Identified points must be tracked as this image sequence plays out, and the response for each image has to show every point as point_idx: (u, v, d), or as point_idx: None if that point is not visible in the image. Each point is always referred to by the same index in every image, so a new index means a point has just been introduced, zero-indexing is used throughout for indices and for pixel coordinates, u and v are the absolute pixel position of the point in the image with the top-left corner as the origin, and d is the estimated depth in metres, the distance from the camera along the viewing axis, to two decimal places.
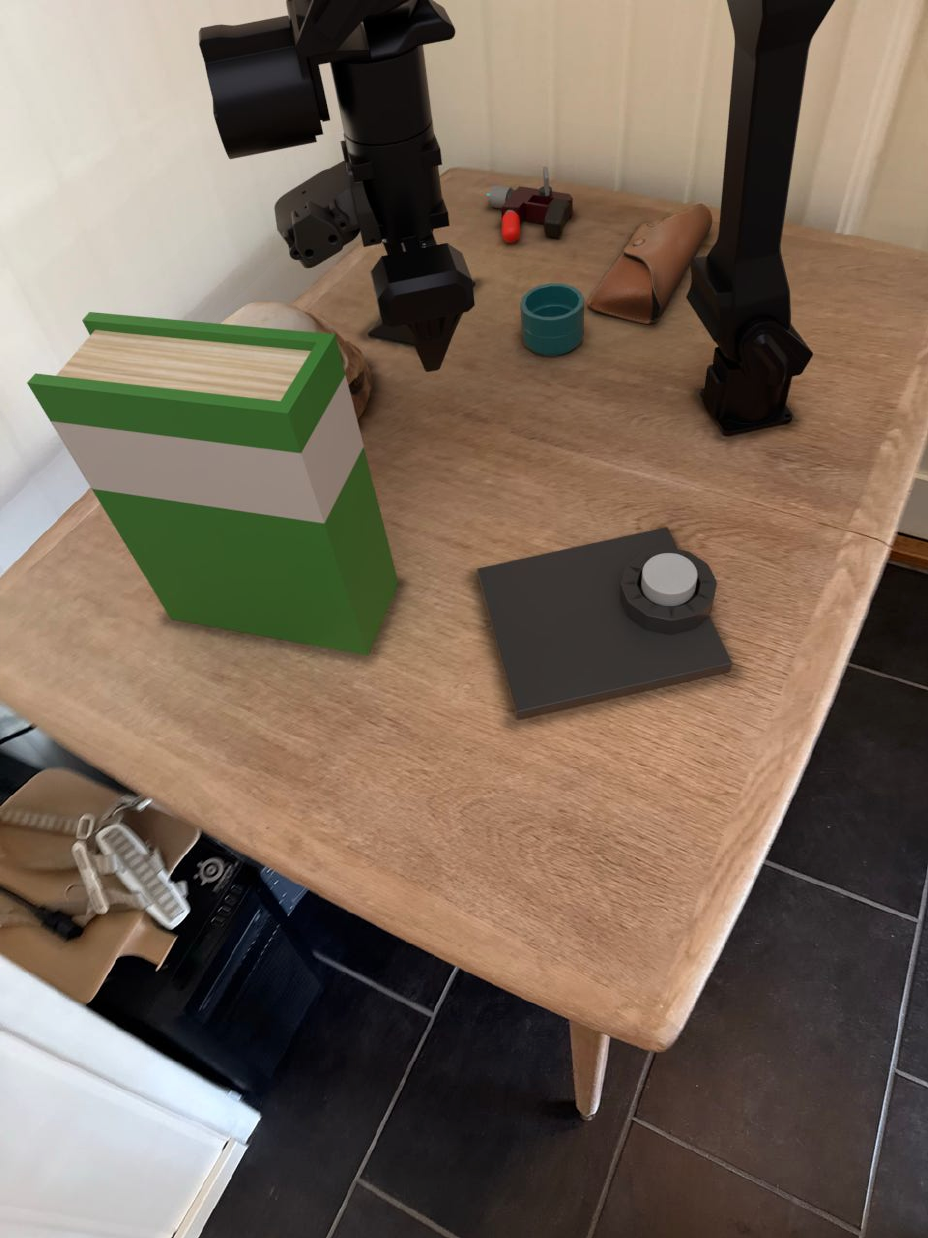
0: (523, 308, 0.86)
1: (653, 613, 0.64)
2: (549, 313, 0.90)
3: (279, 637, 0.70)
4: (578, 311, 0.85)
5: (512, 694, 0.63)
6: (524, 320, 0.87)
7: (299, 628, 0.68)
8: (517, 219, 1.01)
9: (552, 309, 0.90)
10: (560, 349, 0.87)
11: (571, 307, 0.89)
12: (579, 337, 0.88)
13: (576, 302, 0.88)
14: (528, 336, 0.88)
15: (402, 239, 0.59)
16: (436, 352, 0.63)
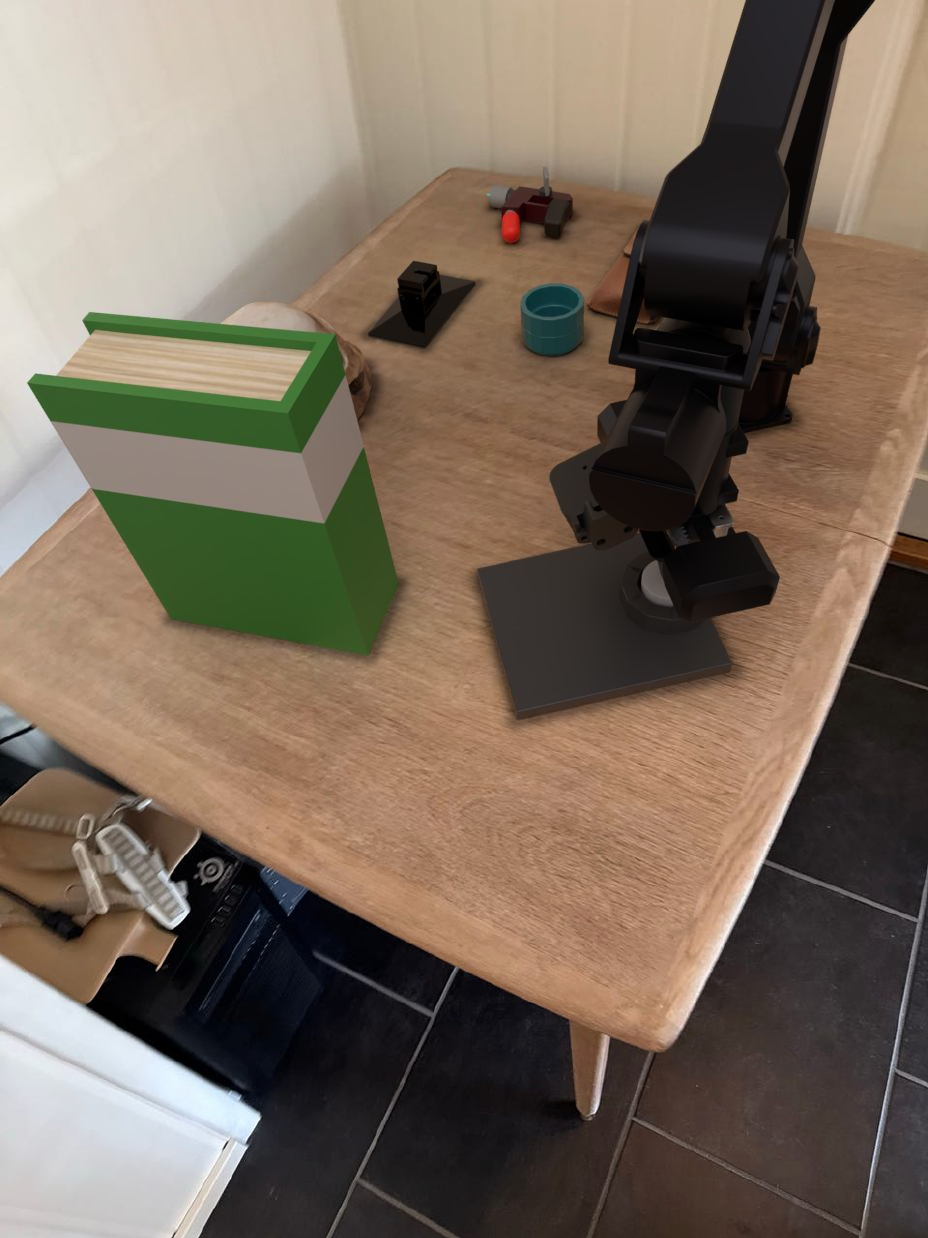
0: (523, 308, 0.86)
1: (653, 613, 0.64)
2: (549, 313, 0.90)
3: (279, 637, 0.70)
4: (578, 311, 0.85)
5: (512, 694, 0.63)
6: (524, 320, 0.87)
7: (299, 628, 0.68)
8: (517, 219, 1.01)
9: (552, 309, 0.90)
10: (560, 349, 0.87)
11: (571, 307, 0.89)
12: (579, 337, 0.88)
13: (576, 302, 0.88)
14: (528, 336, 0.88)
15: (689, 517, 0.56)
16: None
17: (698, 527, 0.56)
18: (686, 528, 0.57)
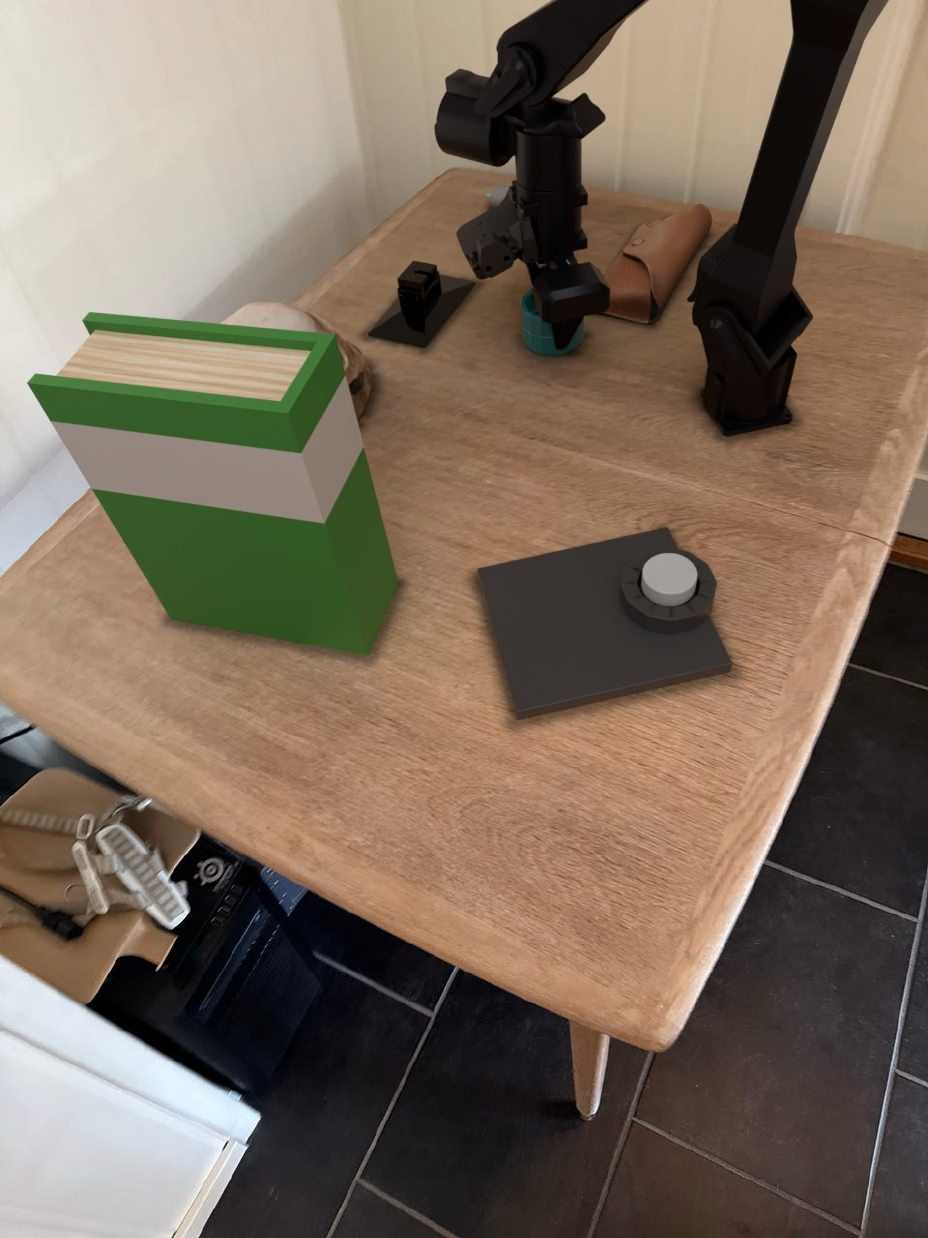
0: (523, 308, 0.86)
1: (653, 613, 0.64)
2: None
3: (279, 637, 0.70)
4: None
5: (512, 694, 0.63)
6: (524, 320, 0.87)
7: (299, 628, 0.68)
8: None
9: None
10: None
11: None
12: (579, 337, 0.88)
13: None
14: (528, 336, 0.88)
15: (553, 258, 0.80)
16: (566, 334, 0.85)
17: (558, 263, 0.79)
18: None
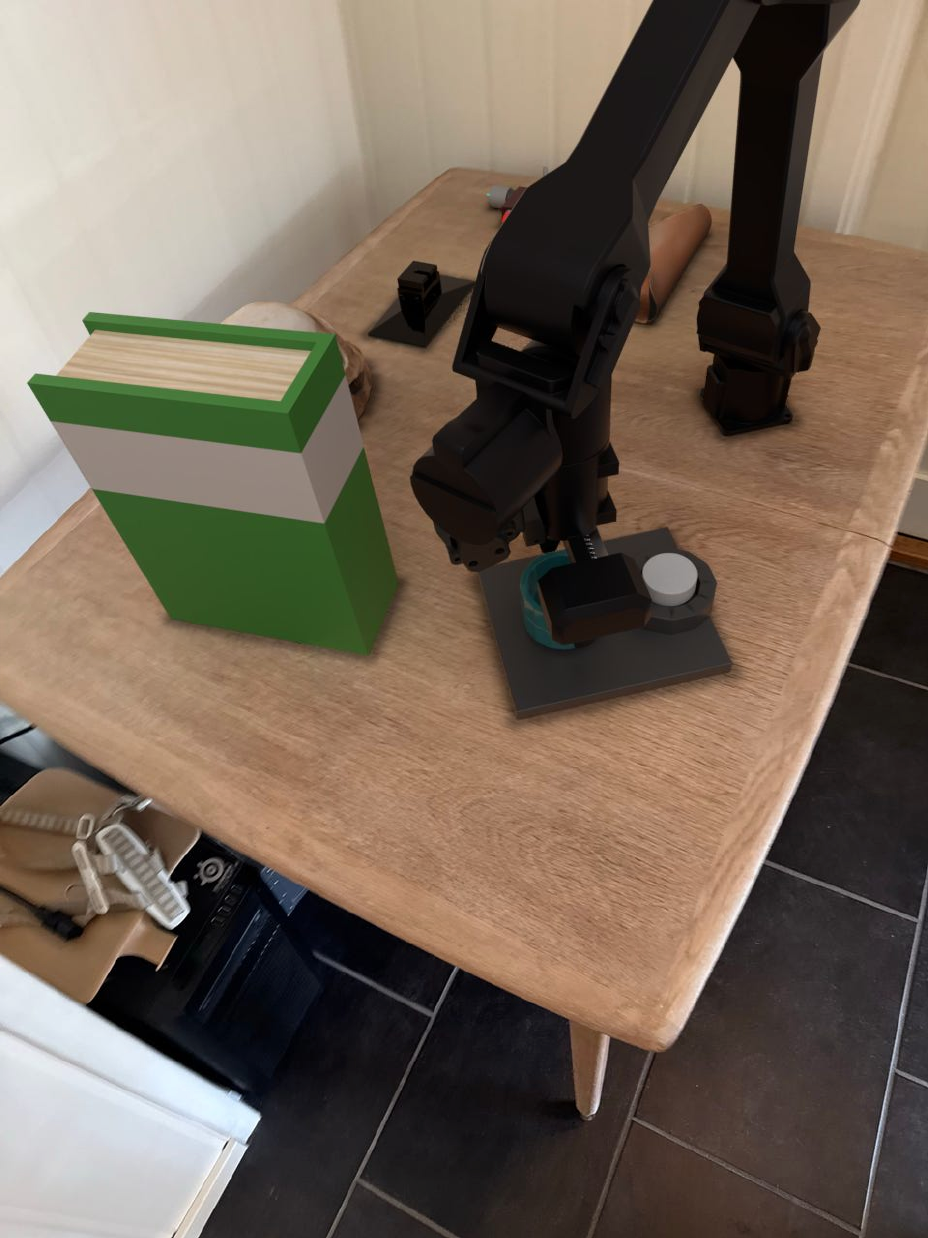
0: (524, 594, 0.63)
1: (653, 613, 0.64)
2: None
3: (279, 637, 0.70)
4: None
5: (512, 694, 0.63)
6: (525, 608, 0.64)
7: (299, 628, 0.68)
8: None
9: None
10: None
11: None
12: None
13: None
14: (531, 625, 0.65)
15: (567, 538, 0.55)
16: None
17: (575, 548, 0.55)
18: None
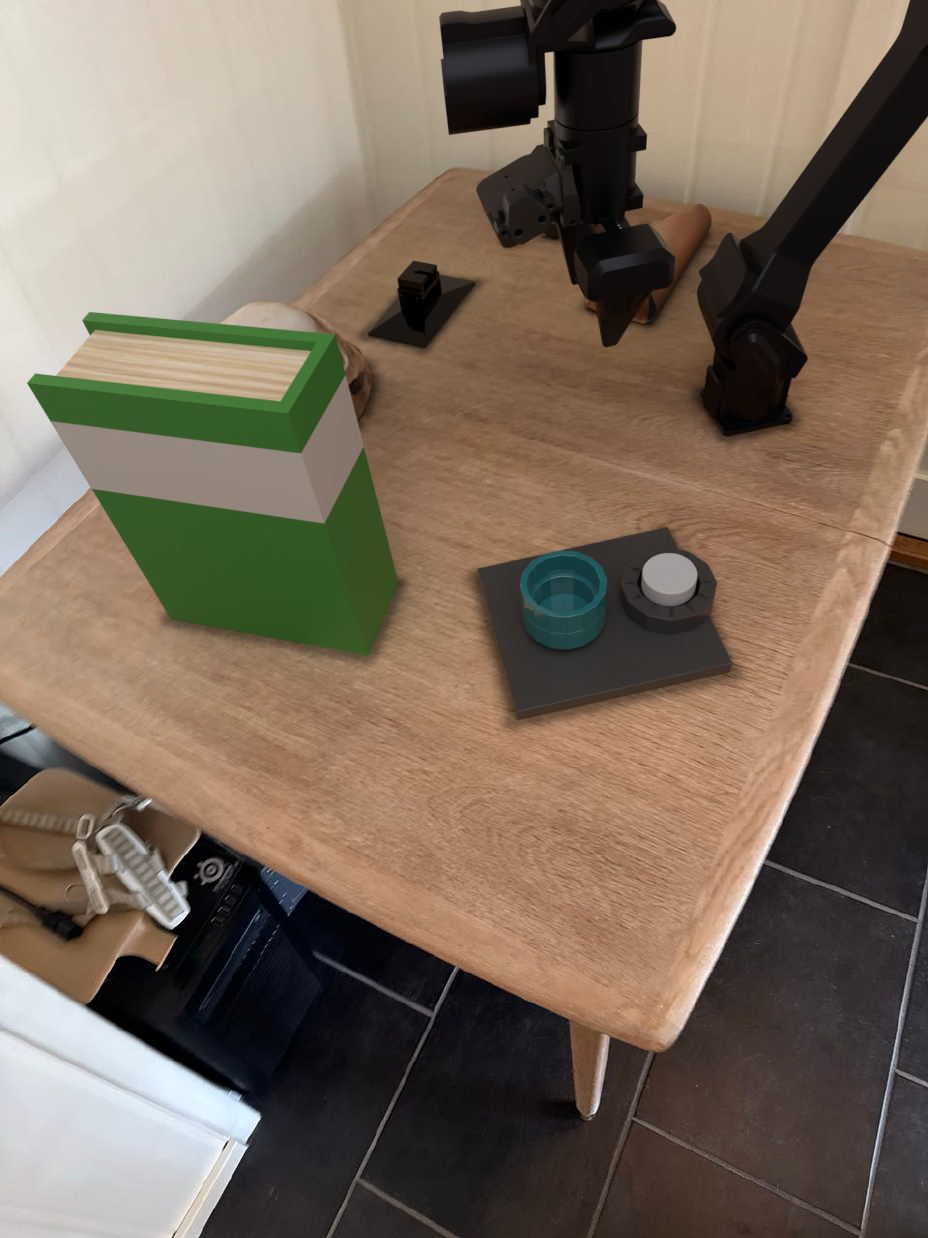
0: (524, 594, 0.63)
1: (653, 613, 0.64)
2: (559, 584, 0.67)
3: (279, 637, 0.70)
4: (599, 602, 0.62)
5: (512, 694, 0.63)
6: (525, 608, 0.64)
7: (299, 628, 0.68)
8: None
9: (563, 580, 0.67)
10: (574, 644, 0.64)
11: (589, 582, 0.66)
12: (600, 626, 0.65)
13: (595, 579, 0.65)
14: (531, 625, 0.65)
15: (599, 220, 0.63)
16: (618, 328, 0.67)
17: (607, 226, 0.62)
18: None
